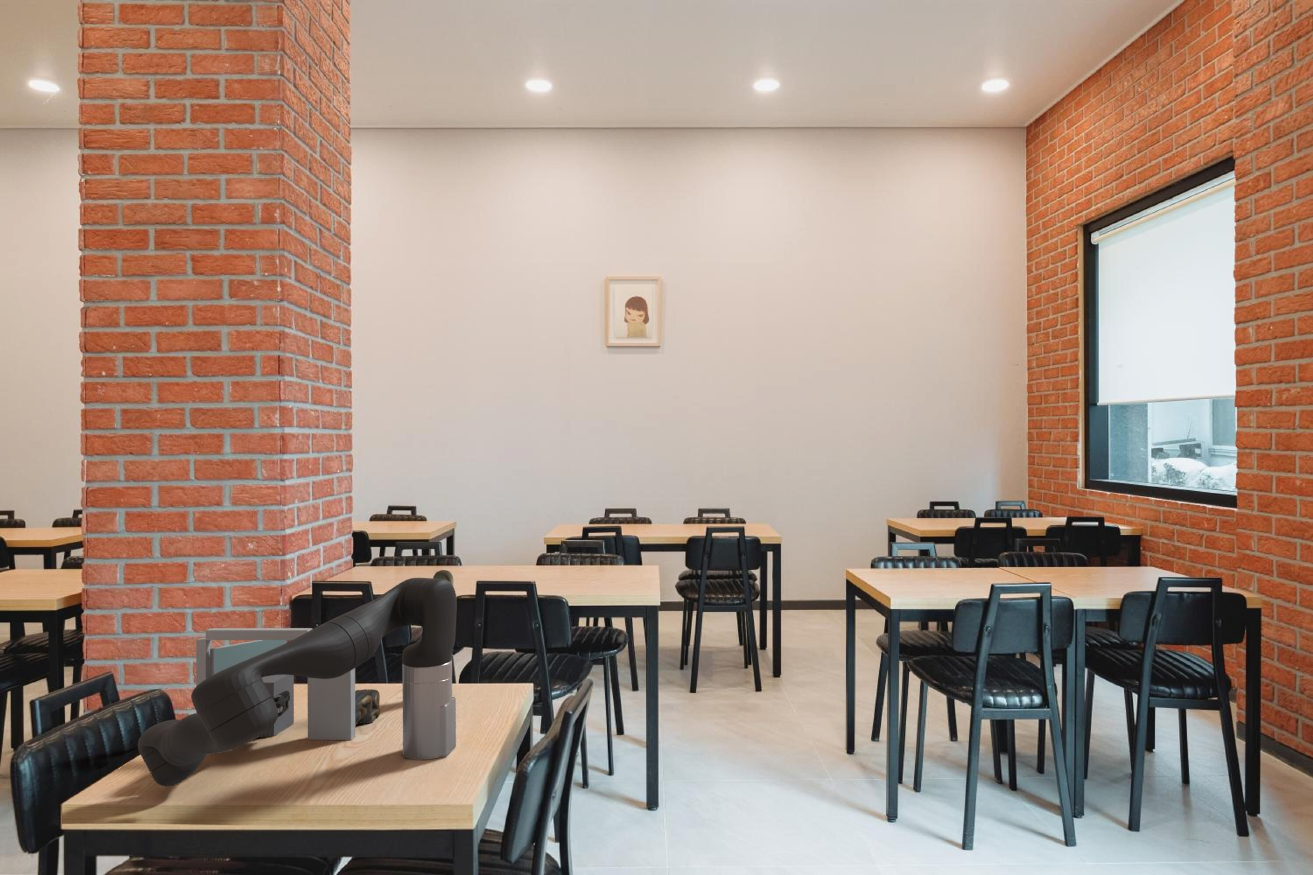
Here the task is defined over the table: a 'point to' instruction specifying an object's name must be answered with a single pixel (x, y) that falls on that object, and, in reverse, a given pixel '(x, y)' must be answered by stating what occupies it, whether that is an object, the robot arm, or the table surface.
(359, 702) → the sculpture
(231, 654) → the door
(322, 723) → the wall frame
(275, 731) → the doorstop block
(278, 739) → the table surface
